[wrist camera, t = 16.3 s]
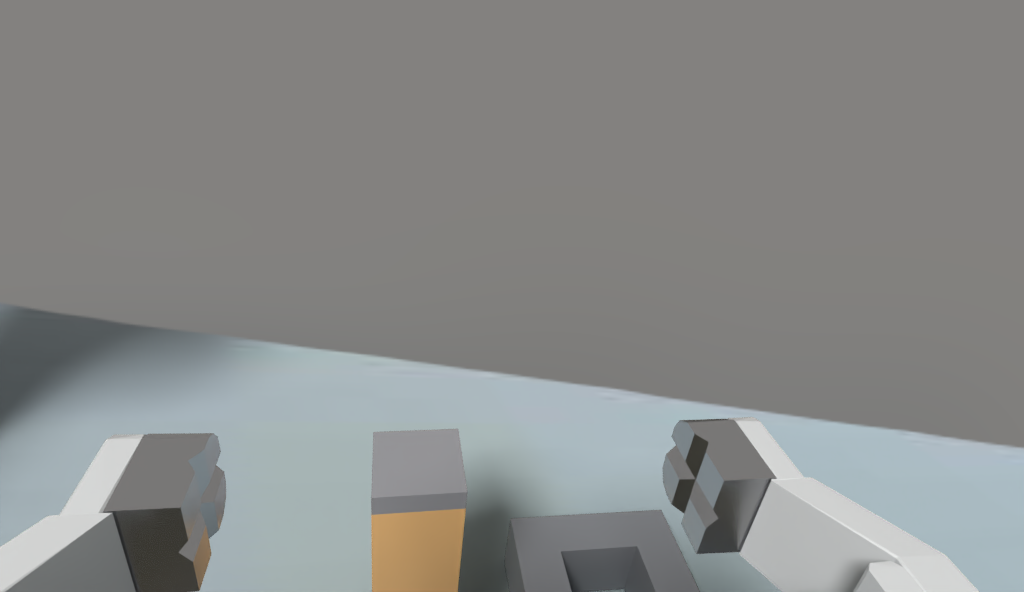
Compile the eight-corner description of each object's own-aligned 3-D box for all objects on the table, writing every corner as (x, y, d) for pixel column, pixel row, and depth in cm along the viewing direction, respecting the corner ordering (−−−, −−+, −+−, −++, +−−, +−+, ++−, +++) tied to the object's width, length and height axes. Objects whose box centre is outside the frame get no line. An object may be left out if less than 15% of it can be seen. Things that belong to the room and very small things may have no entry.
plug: (372, 688, 31) (371, 497, 25) (374, 616, 35) (373, 432, 28) (449, 678, 32) (467, 492, 26) (443, 609, 36) (458, 428, 29)
